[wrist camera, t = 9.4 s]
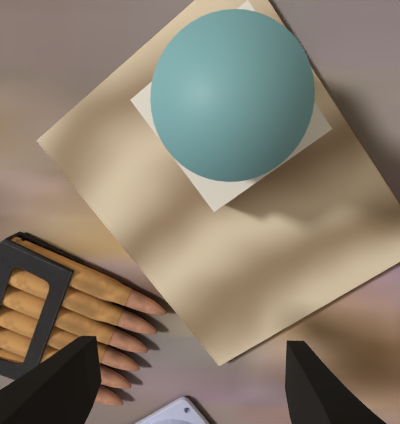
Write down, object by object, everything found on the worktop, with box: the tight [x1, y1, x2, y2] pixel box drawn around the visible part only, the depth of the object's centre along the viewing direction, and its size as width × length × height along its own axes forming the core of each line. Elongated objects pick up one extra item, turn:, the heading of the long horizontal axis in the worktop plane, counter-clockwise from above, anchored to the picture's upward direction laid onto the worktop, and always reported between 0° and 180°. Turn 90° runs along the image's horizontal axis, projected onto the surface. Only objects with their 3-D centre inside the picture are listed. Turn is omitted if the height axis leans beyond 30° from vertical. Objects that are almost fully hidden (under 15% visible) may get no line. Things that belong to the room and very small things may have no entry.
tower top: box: [131, 0, 332, 212], centre depth 14 cm, size 6×6×3 cm
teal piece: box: [150, 9, 315, 182], centre depth 11 cm, size 4×4×4 cm
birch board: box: [37, 0, 400, 366], centre depth 20 cm, size 20×16×1 cm
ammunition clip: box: [0, 232, 166, 406], centre depth 23 cm, size 11×2×12 cm
